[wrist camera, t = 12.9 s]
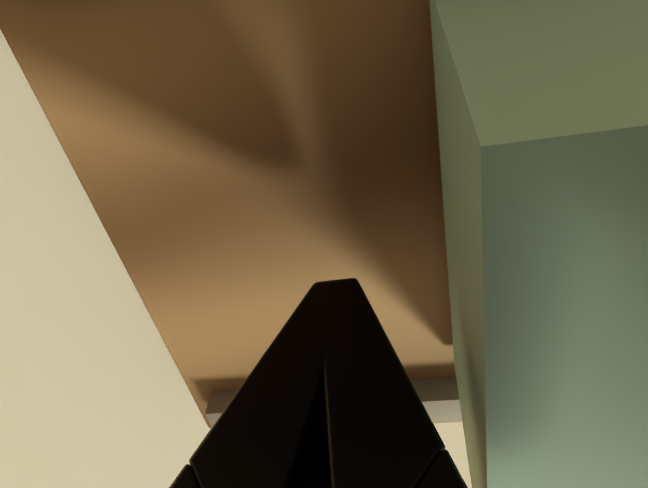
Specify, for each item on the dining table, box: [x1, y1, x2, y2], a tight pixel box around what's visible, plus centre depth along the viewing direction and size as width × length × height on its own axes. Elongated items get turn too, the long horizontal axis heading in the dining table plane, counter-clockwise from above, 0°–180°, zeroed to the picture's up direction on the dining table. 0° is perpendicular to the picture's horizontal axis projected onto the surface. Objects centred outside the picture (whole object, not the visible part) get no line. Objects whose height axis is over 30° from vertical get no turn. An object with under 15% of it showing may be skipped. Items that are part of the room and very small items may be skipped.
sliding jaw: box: [429, 0, 648, 488], centre depth 8 cm, size 8×2×4 cm, turn 11°
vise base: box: [0, 0, 463, 428], centre depth 8 cm, size 12×17×6 cm
